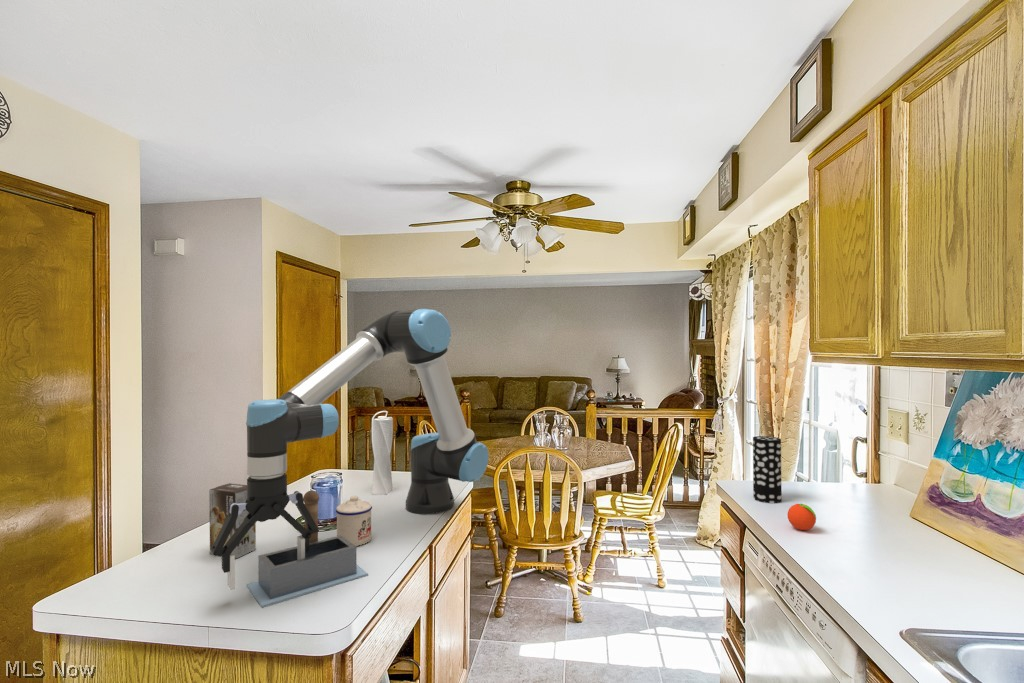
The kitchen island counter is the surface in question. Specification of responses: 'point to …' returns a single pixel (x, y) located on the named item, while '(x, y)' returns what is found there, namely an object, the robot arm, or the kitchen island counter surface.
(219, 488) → the coffee box
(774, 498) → the spotted tube
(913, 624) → the kitchen island counter surface
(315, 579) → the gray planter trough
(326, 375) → the robot arm
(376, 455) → the skyscraper
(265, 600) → the slate mat
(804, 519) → the clementine
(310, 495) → the walnut peg
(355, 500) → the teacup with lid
